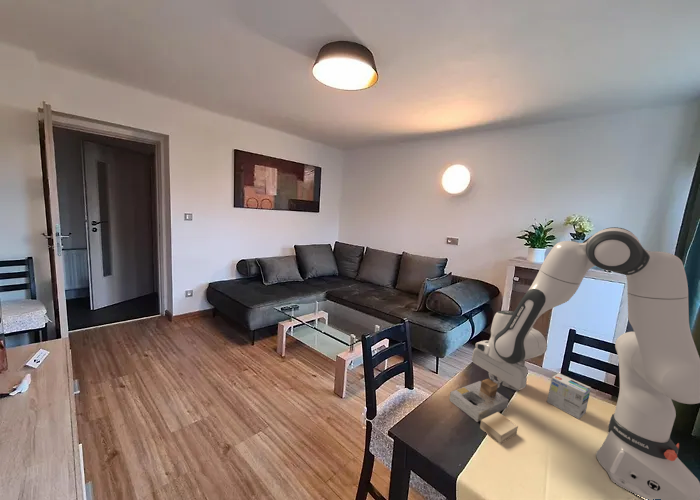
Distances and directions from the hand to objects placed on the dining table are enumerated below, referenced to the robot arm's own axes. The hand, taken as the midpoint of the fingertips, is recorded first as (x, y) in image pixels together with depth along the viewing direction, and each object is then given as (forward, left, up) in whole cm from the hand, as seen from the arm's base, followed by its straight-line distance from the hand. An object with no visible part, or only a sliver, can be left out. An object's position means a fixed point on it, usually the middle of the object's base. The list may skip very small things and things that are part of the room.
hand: (494, 385), depth 111 cm
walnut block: (0, +4, -2) cm, 4 cm away
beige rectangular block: (-12, +14, -5) cm, 19 cm away
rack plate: (0, +9, -5) cm, 10 cm away
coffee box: (+2, -17, -5) cm, 18 cm away
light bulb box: (-16, -22, -5) cm, 27 cm away
